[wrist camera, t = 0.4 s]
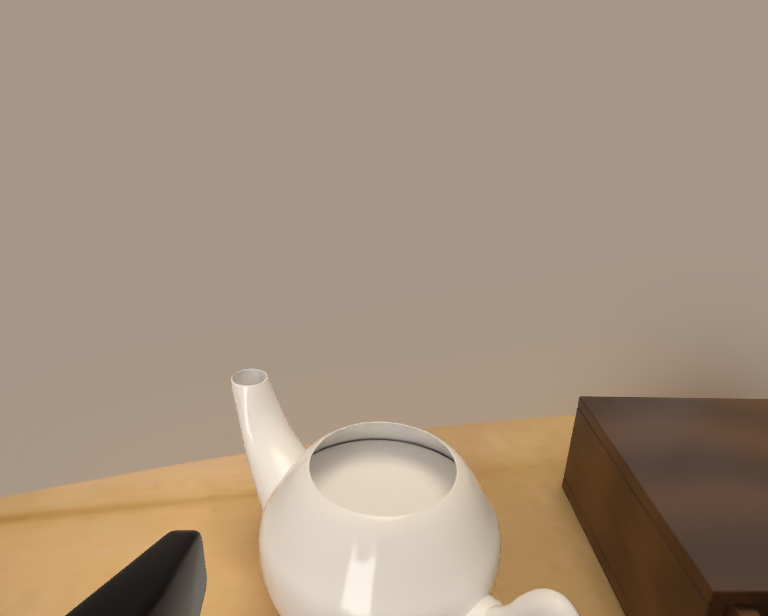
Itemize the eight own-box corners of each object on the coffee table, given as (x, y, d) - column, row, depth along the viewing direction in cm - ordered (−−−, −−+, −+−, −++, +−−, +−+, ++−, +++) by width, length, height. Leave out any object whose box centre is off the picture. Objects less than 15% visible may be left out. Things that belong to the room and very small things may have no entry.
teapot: (506, 988, 15) (559, 780, 12) (166, 563, 28) (144, 403, 25) (644, 728, 22) (704, 543, 18) (316, 478, 35) (315, 341, 31)
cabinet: (941, 705, 23) (1013, 590, 21) (671, 709, 23) (713, 591, 20) (739, 486, 36) (769, 398, 33) (561, 485, 35) (579, 395, 33)
